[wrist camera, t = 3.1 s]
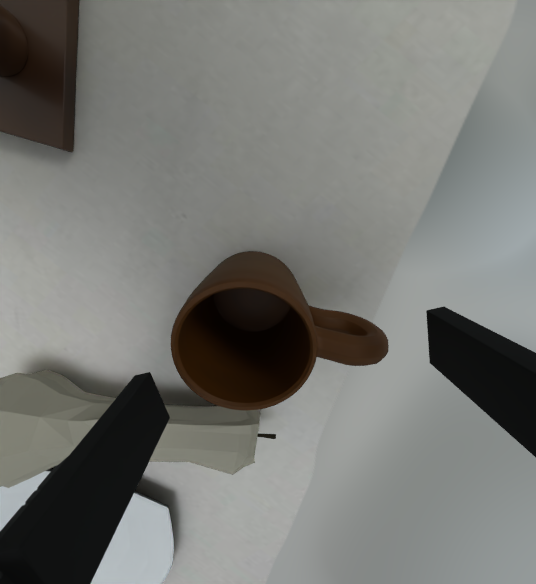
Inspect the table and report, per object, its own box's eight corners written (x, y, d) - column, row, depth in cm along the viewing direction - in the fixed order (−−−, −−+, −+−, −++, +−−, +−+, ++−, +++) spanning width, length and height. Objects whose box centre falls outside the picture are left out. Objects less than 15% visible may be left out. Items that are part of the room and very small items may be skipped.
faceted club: (-5, 343, 21) (281, 367, 24) (31, 401, 26) (268, 417, 28) (-147, 456, 14) (289, 476, 16) (-61, 510, 19) (270, 519, 21)
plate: (196, 480, 28) (191, 499, 26) (161, 598, 34) (155, 620, 32) (-25, 433, 25) (-48, 451, 24) (-17, 569, 32) (-35, 591, 30)
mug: (356, 258, 20) (427, 292, 11) (340, 340, 23) (389, 423, 14) (209, 245, 20) (163, 270, 11) (207, 330, 22) (168, 409, 13)
